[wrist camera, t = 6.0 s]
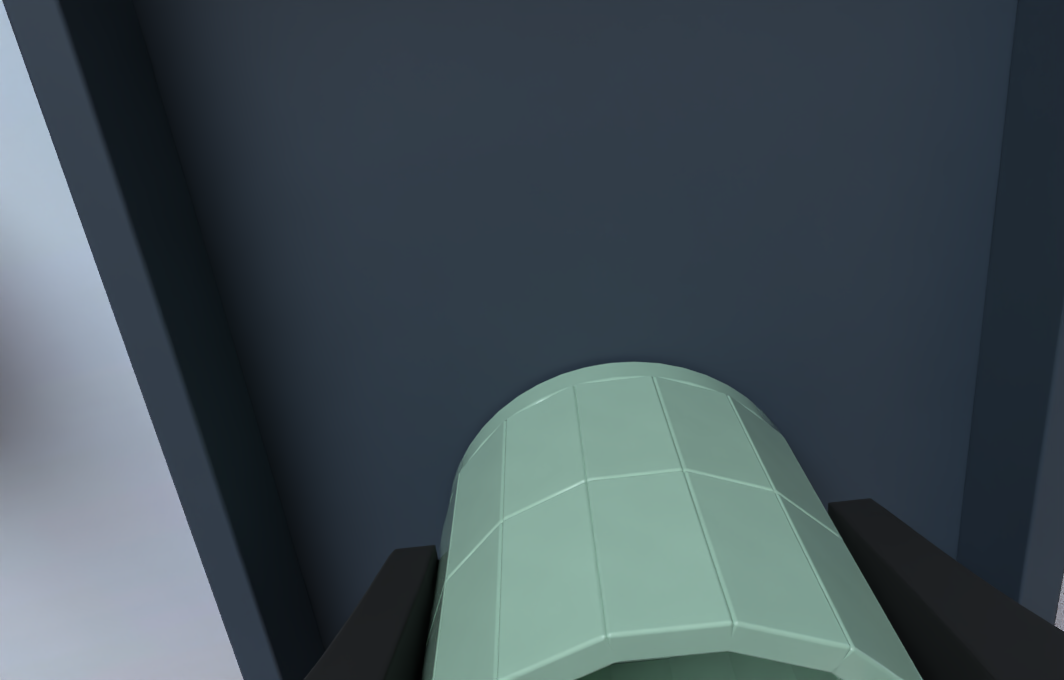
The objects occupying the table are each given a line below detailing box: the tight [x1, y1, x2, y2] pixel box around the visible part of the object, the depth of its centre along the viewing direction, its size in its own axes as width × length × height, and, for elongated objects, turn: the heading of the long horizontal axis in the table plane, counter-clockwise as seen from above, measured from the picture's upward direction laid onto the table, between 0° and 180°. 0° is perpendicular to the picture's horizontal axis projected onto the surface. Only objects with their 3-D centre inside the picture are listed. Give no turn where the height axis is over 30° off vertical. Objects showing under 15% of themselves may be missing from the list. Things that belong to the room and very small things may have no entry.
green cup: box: [421, 362, 923, 680], centre depth 11 cm, size 6×6×6 cm
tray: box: [2, 0, 1064, 680], centre depth 12 cm, size 17×12×2 cm
